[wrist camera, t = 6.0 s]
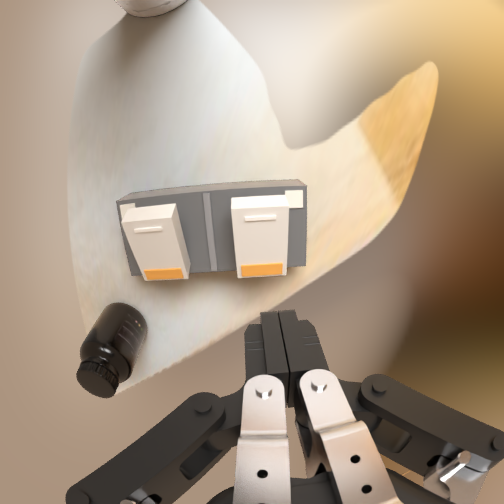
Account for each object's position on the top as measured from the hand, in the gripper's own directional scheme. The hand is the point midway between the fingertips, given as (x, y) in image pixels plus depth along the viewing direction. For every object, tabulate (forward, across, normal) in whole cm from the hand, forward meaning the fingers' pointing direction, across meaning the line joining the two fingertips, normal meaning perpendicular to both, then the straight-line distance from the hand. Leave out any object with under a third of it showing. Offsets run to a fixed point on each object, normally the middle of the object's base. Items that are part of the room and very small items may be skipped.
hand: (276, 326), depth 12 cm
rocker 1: (+13, +9, +1) cm, 15 cm away
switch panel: (+19, +4, +1) cm, 19 cm away
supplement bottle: (+19, +18, +14) cm, 30 cm away
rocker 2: (+12, 0, +1) cm, 13 cm away
